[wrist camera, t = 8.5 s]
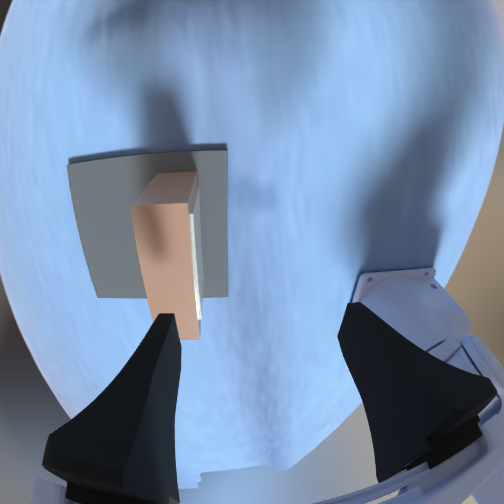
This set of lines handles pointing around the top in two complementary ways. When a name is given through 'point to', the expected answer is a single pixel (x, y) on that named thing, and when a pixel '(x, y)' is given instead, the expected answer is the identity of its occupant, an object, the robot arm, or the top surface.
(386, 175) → the top surface
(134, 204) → the block
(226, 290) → the mat
